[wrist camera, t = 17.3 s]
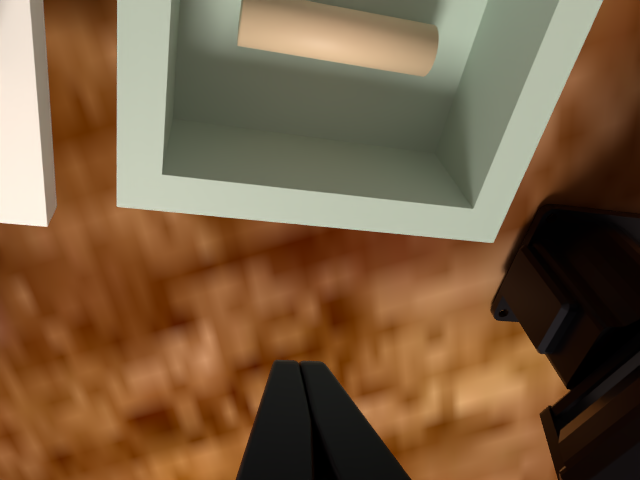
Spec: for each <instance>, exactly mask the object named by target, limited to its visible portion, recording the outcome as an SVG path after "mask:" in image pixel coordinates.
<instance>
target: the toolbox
mask: <svg viewBox="0 0 640 480" xmlns="http://www.w3.org/2000/svg"><path fill="white" fill-rule="evenodd" d="M602 1H603V0H117V207H125V208H135V209H146V210H156V211H166V212H177V213H187V214H198V215H208V216H218V217H229V218H239V219H250V220H260V221H270V222H281V223H291V224H302V225H312V226H323V227H333V228H343V229H354V230H364V231H375V232H385V233H395V234H406V235H416V236H427V237H437V238H447V239H458V240H468V241H479V242H489V243H493V242H494V240H495V238H496V236H497V233H498V231H499V229H500V227H501V225H502V222H503V220H504V218H505V216H506V213H507V211H508V209H509V207H510V205H511V202H512V200H513V198H514V196H515V194H516V191H517V189H518V187H519V185H520V183H521V180H522V178H523V176H524V174H525V172H526V169H527V167H528V165H529V163H530V160H531V158H532V156H533V154H534V152H535V149H536V147H537V145H538V143H539V141H540V138H541V136H542V134H543V132H544V130H545V127H546V125H547V123H548V121H549V118H550V116H551V114H552V112H553V110H554V107H555V105H556V103H557V101H558V99H559V96H560V94H561V92H562V90H563V88H564V85H565V83H566V81H567V79H568V77H569V74H570V72H571V70H572V68H573V65H574V63H575V61H576V59H577V57H578V54H579V52H580V50H581V48H582V46H583V43H584V41H585V39H586V37H587V35H588V32H589V30H590V28H591V26H592V24H593V21H594V19H595V17H596V15H597V12H598V10H599V8H600V6H601V4H602Z"/></svg>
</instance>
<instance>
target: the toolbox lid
mask: <svg viewBox="0 0 640 480" xmlns="http://www.w3.org/2000/svg"><path fill="white" fill-rule="evenodd" d="M56 207H57V203H56V188H55V172H54V157H53V142H52V127H51V112H50V97H49V81H48V66H47V51H46V36H45V21H44V6H43V0H0V223H10V224H21V225H33V226H45V227H47V226H48V224H49V222H50V220H51V218H52V216H53V214H54V212H55V209H56Z"/></svg>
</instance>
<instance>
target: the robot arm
mask: <svg viewBox="0 0 640 480" xmlns="http://www.w3.org/2000/svg"><path fill="white" fill-rule="evenodd" d="M550 214H552V216H551V217H549V218H547V217H548V216H549V215H550ZM501 310H503V311H501ZM491 313H492V315H493V317H494V318H495V319H496V320H498V321H511V322H519V323H520V324H521V326H522V327H523V329H524V331H525V332H526V334H527V335H528V337H529V339H530V340H531V342H532V343H533V345H534V347H535V348H536V350H537V351H538V353H540V354H545V355H546V356H547V358H548V359H549V361H550V363H551V364H552V366H553V367H554V369H555V371H556V372H557V374H558V375H559V377H560V378H561V380H562V382H563V383H564V385H565V386H566V388H567V389H569V390H570V391H569V392H568V393H567V394H566V395H564V396H563V397H562V398H561V399H560V400H559V401H557V402H556V403H555V404H554V405H553V406H548V407H547V408H546V409H545V410H543V411H542V412H541V413H540V418H541V421H542V425H543V428H544V432H545V435H546V439H547V442H548V446H549V450H550V453H551V457H552V460H553V464H554V467H555V471H556V474H557V478H558V480H640V214H633V213H625V212H616V211H608V210H599V209H591V208H582V207H573V206H565V205H556V204H548V205H545V206H543V207H542V208H541V209H540V210H539V211H538V212H537V214H536V216H535V218H534V220H533V223H532V225H531V227H530V229H529V231H528V233H527V235H526V237H525V239H524V241H523V243H522V245H521V247H520V249H519V251H518V253H517V255H516V257H515V259H514V261H513V263H512V265H511V267H510V269H509V271H508V273H507V275H506V277H505V279H504V282H503V284H502V286H501V288H500V290H499V292H498V294H497V296H496V298H495V300H494V302H493V304H492V307H491ZM236 480H411V479H410V477H409V476H408V475H407V473H406V472H405V471H404V469H403V468H402V466H401V465H400V464H399V462H398V461H397V460H396V458H395V457H394V456H393V454H392V453H391V452H390V450H389V449H388V448H387V446H386V445H385V444H384V442H383V441H382V440H381V438H380V437H379V436H378V434H377V433H376V432H375V430H374V429H373V428H372V426H371V425H370V423H369V422H368V421H367V419H366V418H365V417H364V415H363V414H362V413H361V411H360V410H359V409H358V407H357V406H356V405H355V403H354V402H353V401H352V399H351V398H350V397H349V395H348V394H347V393H346V391H345V390H344V389H343V387H342V386H341V385H340V383H339V382H338V380H337V379H336V378H335V376H334V375H333V374H332V372H331V371H330V370H329V368H328V367H327V366H326V365H325V364H324V363H323V362H320V361H301V362H299V363H298V362H297V361H294V360H275V361H274V362H273V365H272V368H271V371H270V374H269V377H268V380H267V383H266V386H265V390H264V393H263V396H262V399H261V402H260V405H259V408H258V411H257V415H256V418H255V421H254V424H253V427H252V430H251V433H250V437H249V440H248V443H247V446H246V449H245V452H244V455H243V458H242V462H241V465H240V468H239V471H238V474H237V477H236Z"/></svg>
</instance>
